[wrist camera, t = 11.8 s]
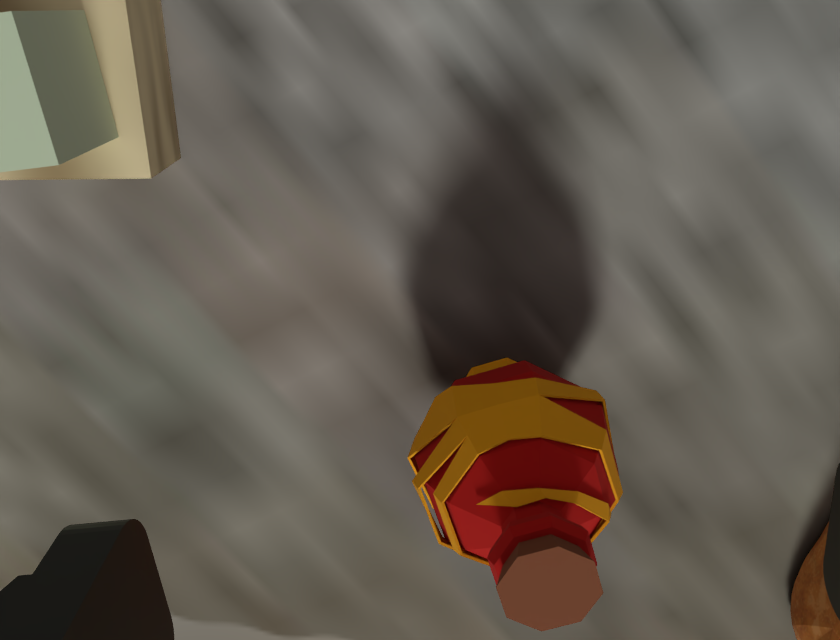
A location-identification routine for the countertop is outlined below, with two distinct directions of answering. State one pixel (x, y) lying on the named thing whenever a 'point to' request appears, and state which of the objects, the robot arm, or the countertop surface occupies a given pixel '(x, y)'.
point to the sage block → (50, 90)
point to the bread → (813, 599)
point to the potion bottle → (521, 485)
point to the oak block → (121, 91)
